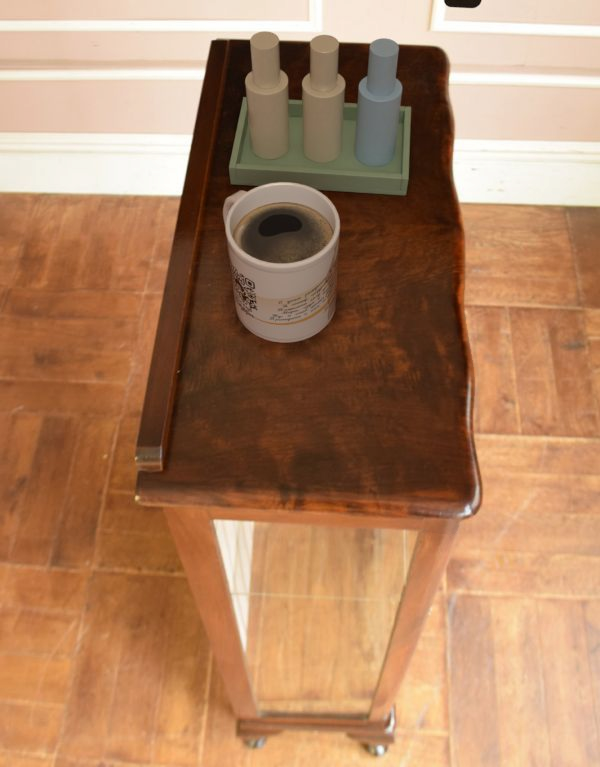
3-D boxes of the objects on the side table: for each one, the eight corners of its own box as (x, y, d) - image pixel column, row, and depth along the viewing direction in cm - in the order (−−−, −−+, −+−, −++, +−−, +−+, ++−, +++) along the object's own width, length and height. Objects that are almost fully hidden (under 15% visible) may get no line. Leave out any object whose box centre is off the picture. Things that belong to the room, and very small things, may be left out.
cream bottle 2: (343, 136, 87) (348, 30, 75) (340, 164, 84) (345, 58, 73) (304, 134, 87) (303, 28, 76) (300, 161, 85) (299, 56, 73)
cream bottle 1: (291, 133, 87) (289, 27, 76) (287, 160, 85) (284, 55, 74) (252, 131, 87) (245, 25, 76) (247, 158, 85) (238, 53, 74)
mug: (227, 345, 73) (215, 268, 63) (228, 248, 79) (217, 165, 69) (339, 341, 73) (344, 264, 63) (331, 245, 79) (335, 161, 70)
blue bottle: (395, 140, 86) (407, 34, 75) (393, 168, 84) (406, 62, 73) (355, 138, 86) (362, 31, 75) (353, 165, 84) (359, 60, 73)
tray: (408, 123, 88) (411, 106, 86) (406, 195, 83) (408, 179, 80) (244, 114, 90) (243, 96, 88) (230, 184, 84) (228, 167, 82)
